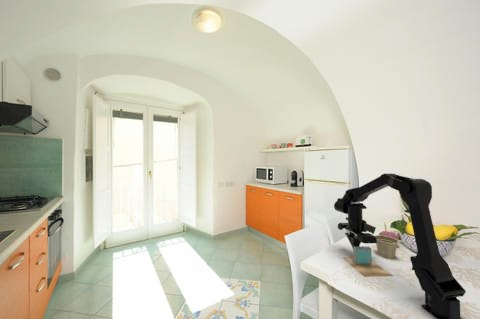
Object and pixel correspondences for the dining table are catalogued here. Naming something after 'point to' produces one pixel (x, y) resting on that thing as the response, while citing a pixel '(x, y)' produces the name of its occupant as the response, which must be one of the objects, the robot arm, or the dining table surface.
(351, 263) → the board
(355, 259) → the tile
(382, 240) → the flower pot
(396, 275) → the dining table surface
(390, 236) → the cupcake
